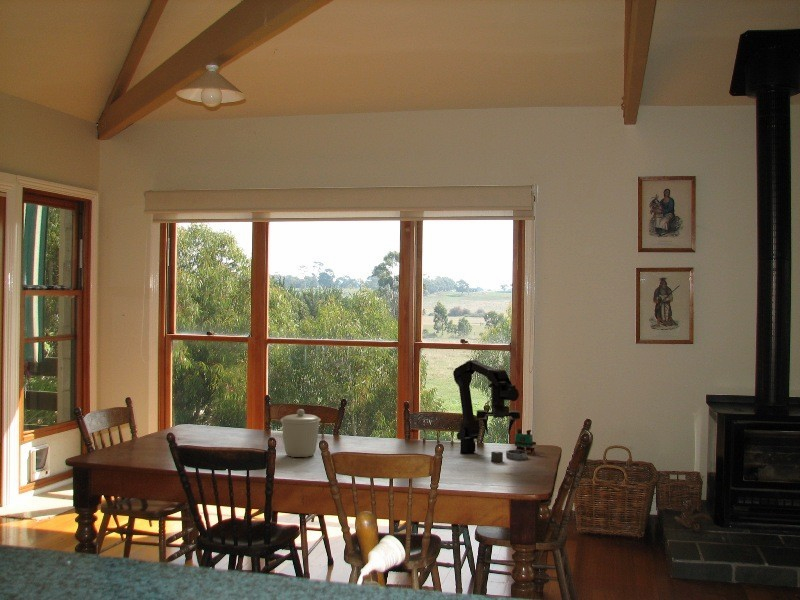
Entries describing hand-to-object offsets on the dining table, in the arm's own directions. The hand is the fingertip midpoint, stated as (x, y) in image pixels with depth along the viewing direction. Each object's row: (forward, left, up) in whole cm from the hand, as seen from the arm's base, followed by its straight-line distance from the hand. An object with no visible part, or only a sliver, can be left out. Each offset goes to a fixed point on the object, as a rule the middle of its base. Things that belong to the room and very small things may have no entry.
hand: (497, 434), depth 329 cm
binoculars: (+14, +24, -12) cm, 30 cm away
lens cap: (0, 0, -12) cm, 12 cm away
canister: (-88, +2, -12) cm, 89 cm away
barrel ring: (+9, +9, -12) cm, 17 cm away
